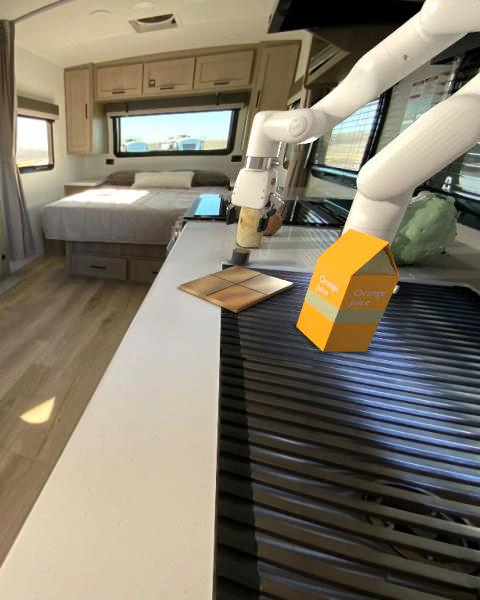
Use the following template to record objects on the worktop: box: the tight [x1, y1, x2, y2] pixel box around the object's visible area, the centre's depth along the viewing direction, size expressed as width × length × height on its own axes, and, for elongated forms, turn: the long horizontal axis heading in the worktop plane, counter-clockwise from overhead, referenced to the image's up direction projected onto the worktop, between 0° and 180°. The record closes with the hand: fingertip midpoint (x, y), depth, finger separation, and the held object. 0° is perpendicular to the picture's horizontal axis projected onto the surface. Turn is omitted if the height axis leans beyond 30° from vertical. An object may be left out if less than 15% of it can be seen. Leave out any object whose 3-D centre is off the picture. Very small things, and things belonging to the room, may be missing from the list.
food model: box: [236, 207, 264, 249], centre depth 111 cm, size 10×7×20 cm
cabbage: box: [390, 190, 461, 265], centre depth 94 cm, size 16×19×20 cm
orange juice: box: [295, 229, 401, 353], centre depth 58 cm, size 8×9×20 cm
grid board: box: [178, 265, 294, 314], centre depth 84 cm, size 16×24×1 cm, turn 124°
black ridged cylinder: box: [230, 247, 252, 267], centre depth 99 cm, size 5×5×4 cm
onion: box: [263, 212, 283, 237], centre depth 126 cm, size 10×9×10 cm
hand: (244, 227), depth 95 cm, fingers open, 9 cm apart
